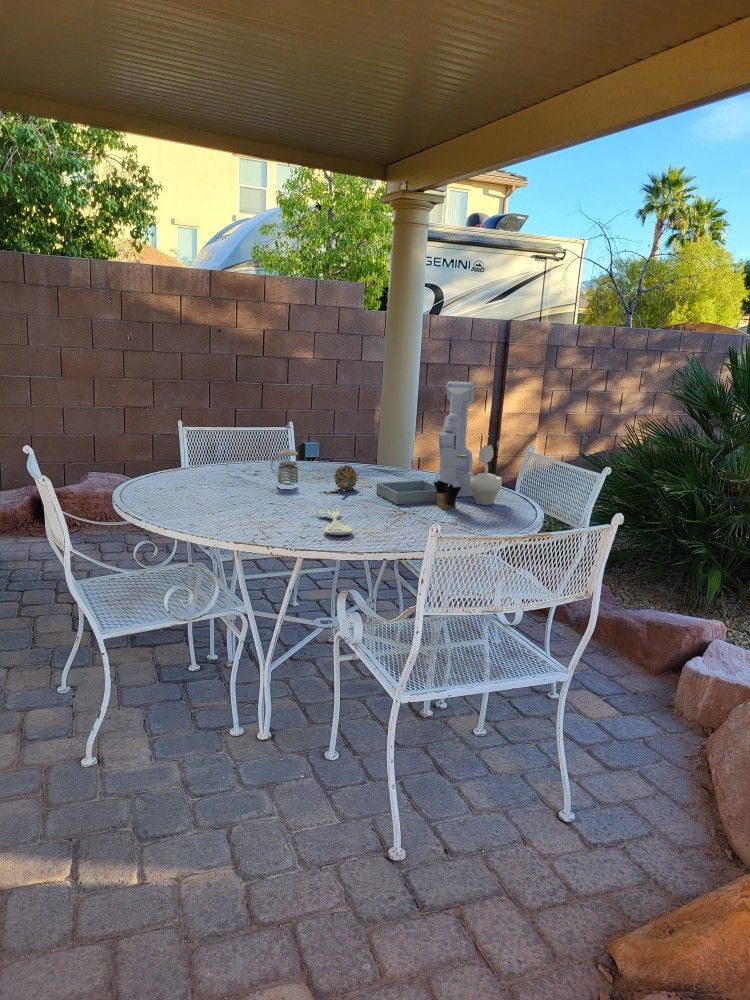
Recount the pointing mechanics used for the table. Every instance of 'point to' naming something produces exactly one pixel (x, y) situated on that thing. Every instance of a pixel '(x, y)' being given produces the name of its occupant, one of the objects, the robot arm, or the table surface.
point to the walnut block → (443, 501)
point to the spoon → (335, 522)
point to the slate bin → (408, 492)
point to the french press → (287, 467)
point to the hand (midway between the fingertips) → (446, 503)
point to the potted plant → (485, 479)
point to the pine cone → (345, 477)
